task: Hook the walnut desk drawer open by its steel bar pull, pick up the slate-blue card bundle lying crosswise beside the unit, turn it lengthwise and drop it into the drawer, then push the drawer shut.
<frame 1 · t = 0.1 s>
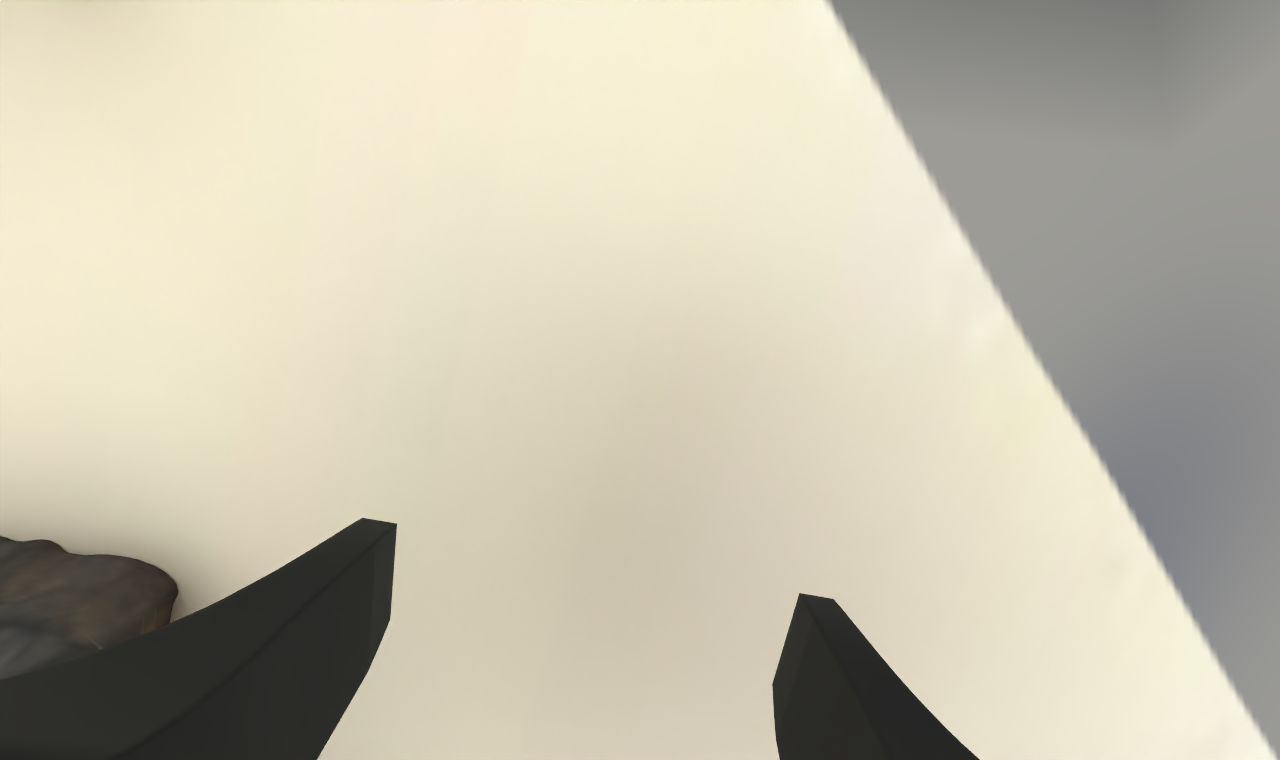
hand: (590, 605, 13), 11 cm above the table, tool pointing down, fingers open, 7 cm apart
owl: (1, 643, 25), on the table
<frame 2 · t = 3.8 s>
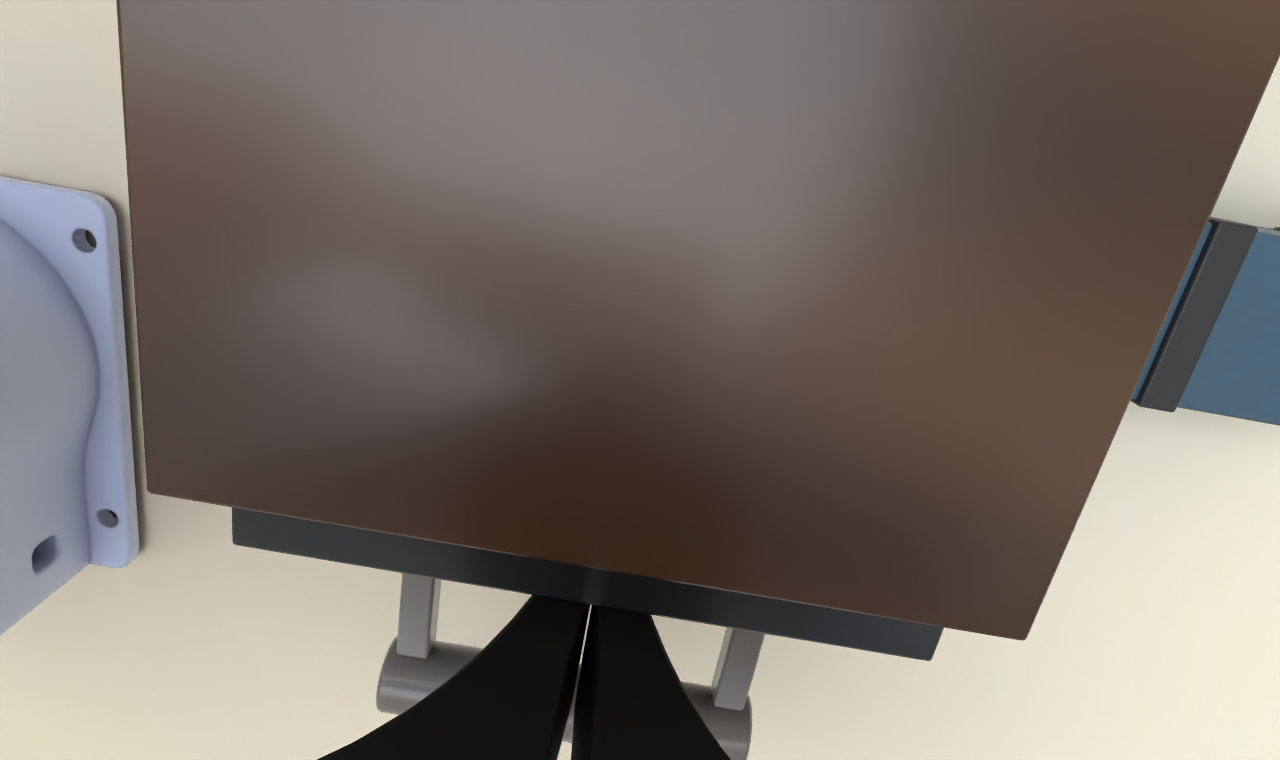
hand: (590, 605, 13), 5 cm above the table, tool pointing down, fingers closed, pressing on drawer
cabinet: (682, 47, 15), on the table
drawer: (639, 297, 13), point 4 cm above the table, slide at 0.0 cm, touching cabinet, gripper
bundle: (1173, 292, 17), on the table
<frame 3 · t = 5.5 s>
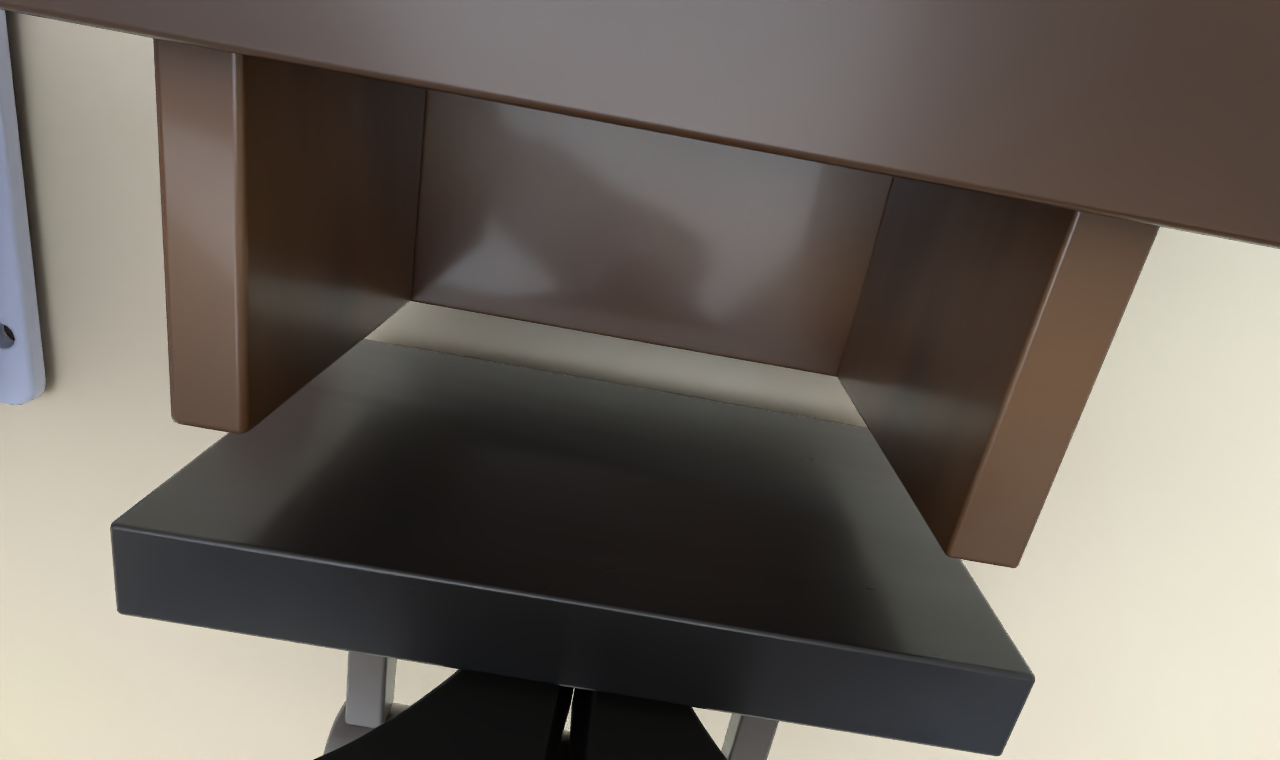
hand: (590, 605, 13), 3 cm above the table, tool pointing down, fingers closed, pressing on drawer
drawer: (634, 298, 10), point 4 cm above the table, slide at 4.9 cm, touching gripper
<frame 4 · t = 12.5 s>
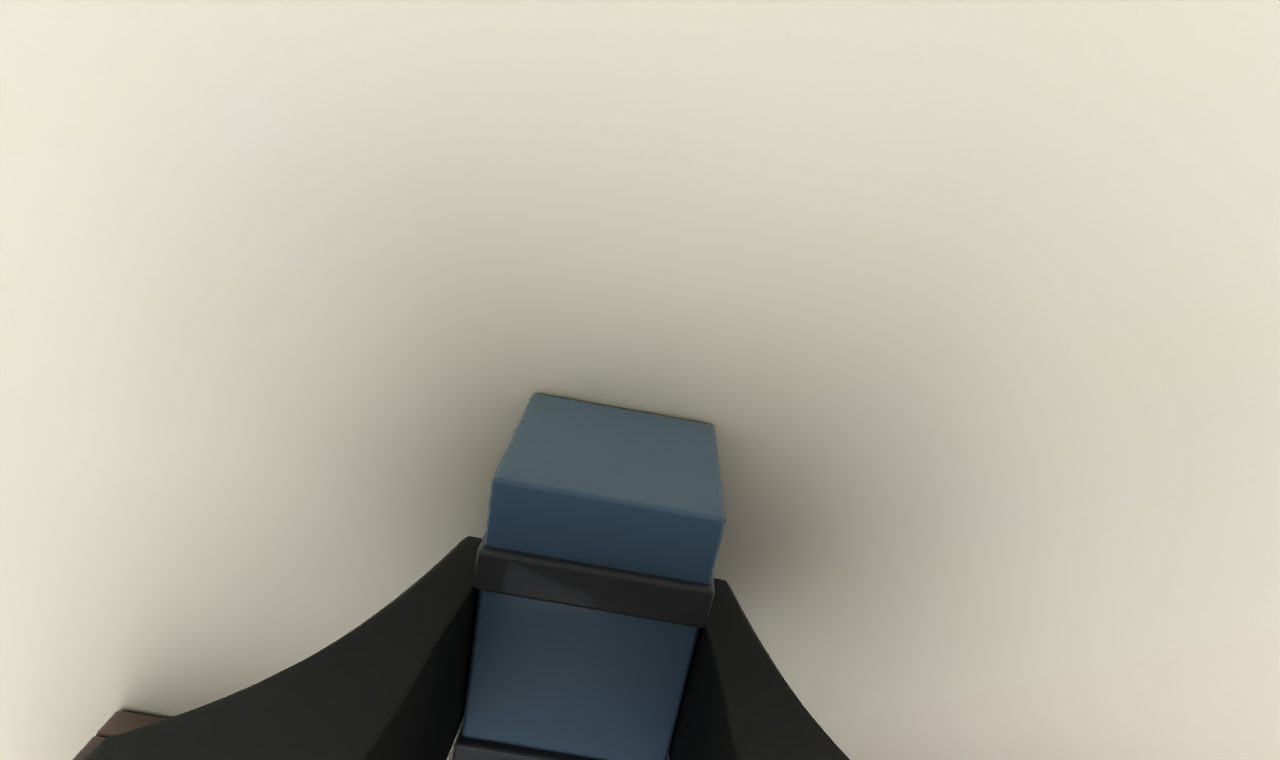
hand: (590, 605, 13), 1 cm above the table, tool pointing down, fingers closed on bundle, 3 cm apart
bundle: (596, 560, 15), on the table, touching gripper
when the fingers open (5 cm above the table, at t = 18.5 s): bundle stays where it is, resting on drawer.
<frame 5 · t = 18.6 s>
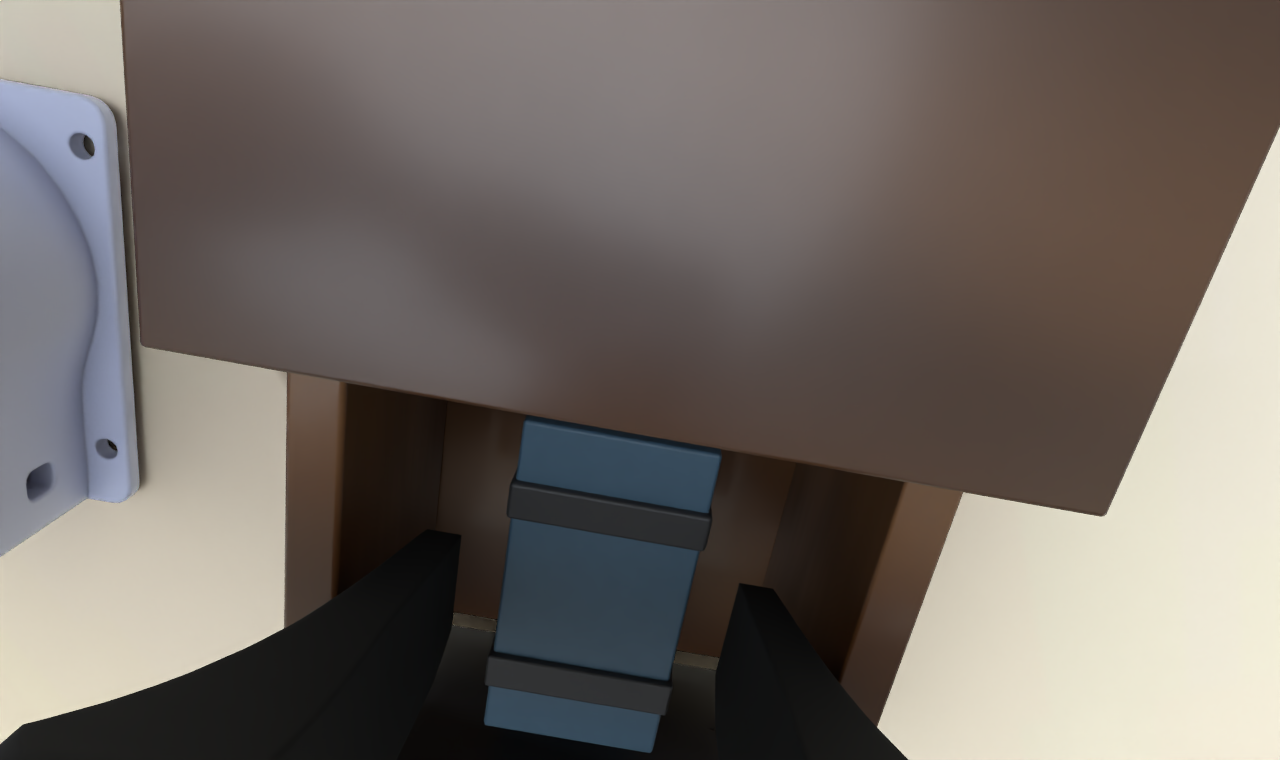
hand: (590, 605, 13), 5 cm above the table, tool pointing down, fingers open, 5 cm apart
drawer: (583, 657, 15), point 4 cm above the table, slide at 9.4 cm, touching bundle, gripper
bundle: (608, 508, 17), point 2 cm above the table, touching drawer
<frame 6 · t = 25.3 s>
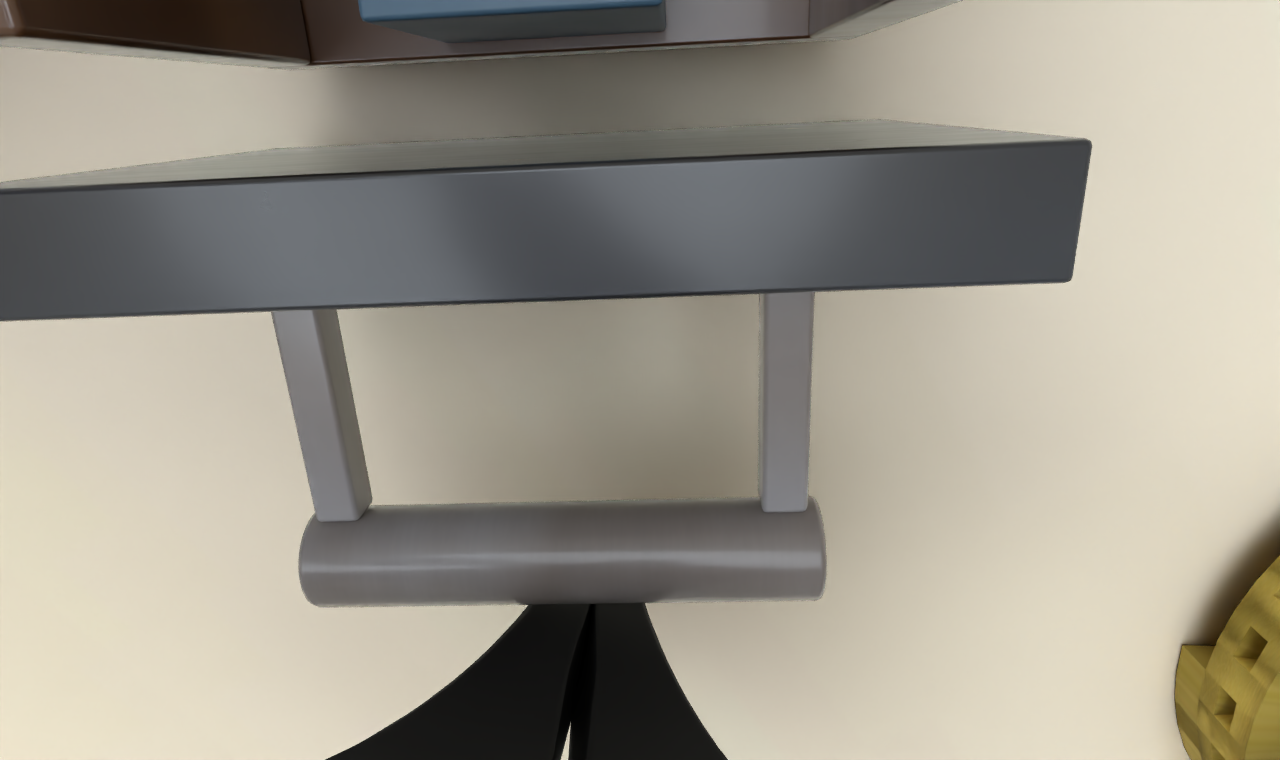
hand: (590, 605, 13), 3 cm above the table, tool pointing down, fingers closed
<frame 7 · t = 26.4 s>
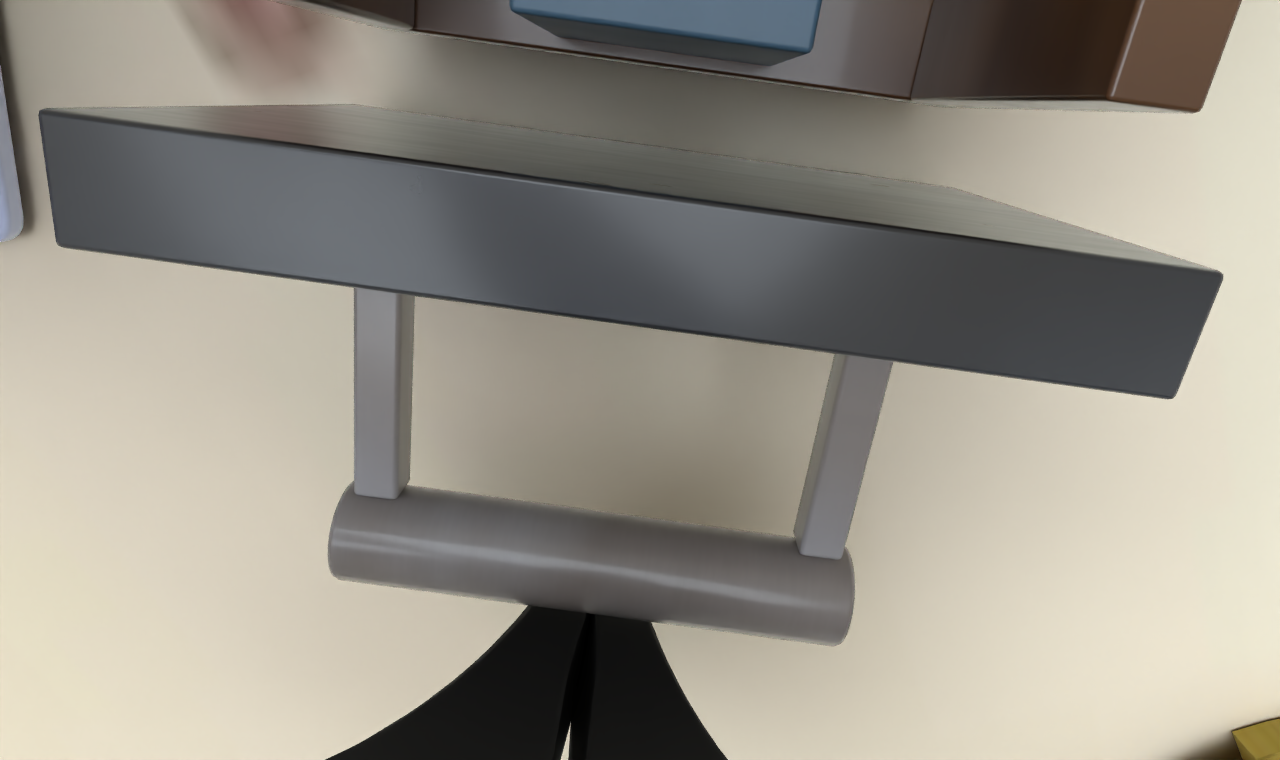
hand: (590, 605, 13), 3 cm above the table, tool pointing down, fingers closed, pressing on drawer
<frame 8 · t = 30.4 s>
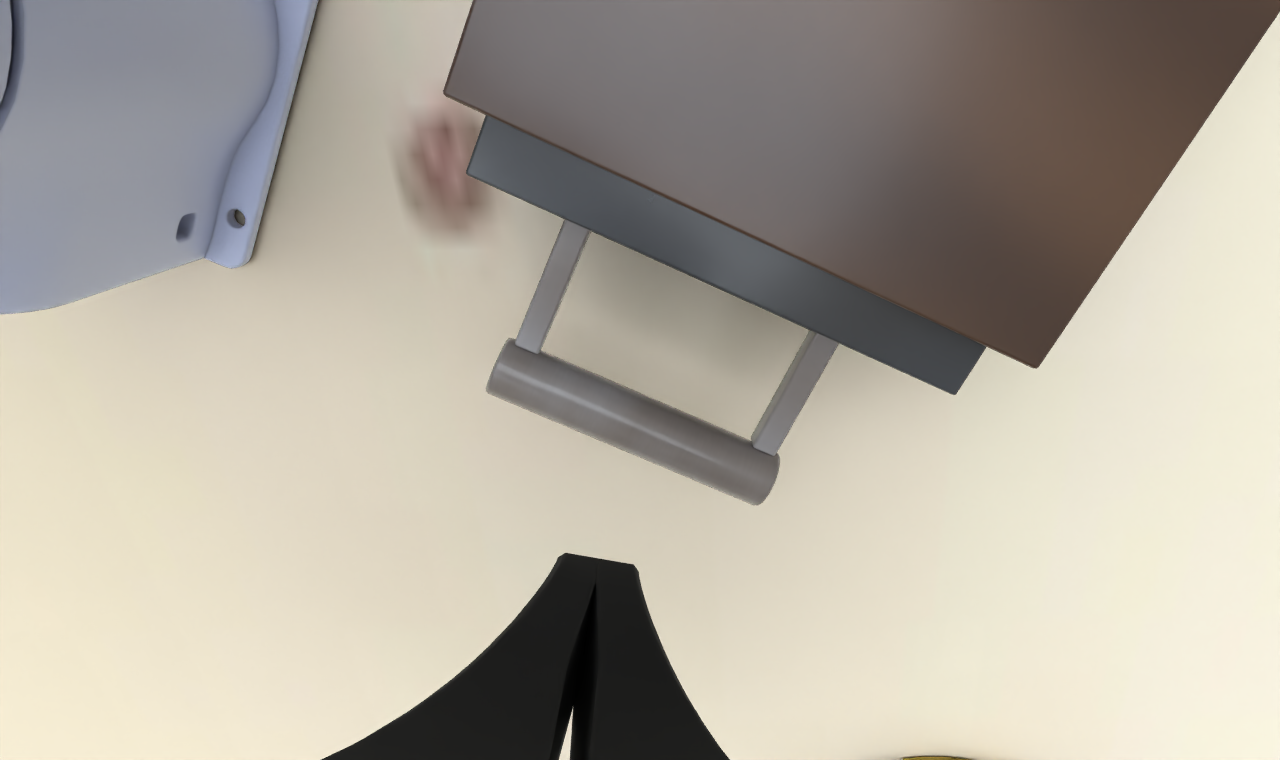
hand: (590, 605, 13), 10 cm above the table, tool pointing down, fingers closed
drawer: (788, 95, 16), point 4 cm above the table, slide at 0.0 cm, touching bundle
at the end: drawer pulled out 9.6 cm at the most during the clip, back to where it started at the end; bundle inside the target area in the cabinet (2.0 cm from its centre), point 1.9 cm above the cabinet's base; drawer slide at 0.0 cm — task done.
